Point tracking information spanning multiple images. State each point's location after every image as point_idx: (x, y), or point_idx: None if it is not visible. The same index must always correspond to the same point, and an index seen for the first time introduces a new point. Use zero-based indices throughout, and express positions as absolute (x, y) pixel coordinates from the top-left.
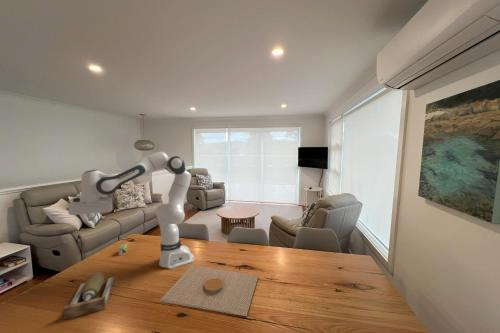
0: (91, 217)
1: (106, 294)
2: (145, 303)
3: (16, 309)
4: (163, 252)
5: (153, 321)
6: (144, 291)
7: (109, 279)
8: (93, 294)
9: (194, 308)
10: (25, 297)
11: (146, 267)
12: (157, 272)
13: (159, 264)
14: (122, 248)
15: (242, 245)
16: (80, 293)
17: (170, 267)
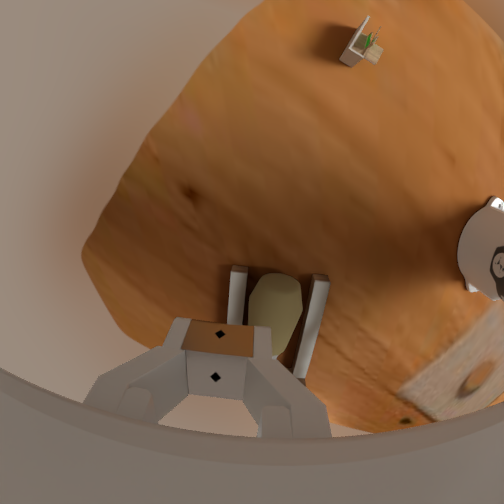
0: (212, 372)
1: (307, 358)
2: (374, 389)
3: (105, 278)
4: (491, 282)
5: (369, 422)
6: (386, 356)
7: (316, 291)
8: (276, 357)
9: (425, 415)
10: (97, 231)
11: (426, 239)
12: (439, 288)
13: (458, 250)
14: (362, 49)
15: None
16: (240, 323)
17: (470, 291)
